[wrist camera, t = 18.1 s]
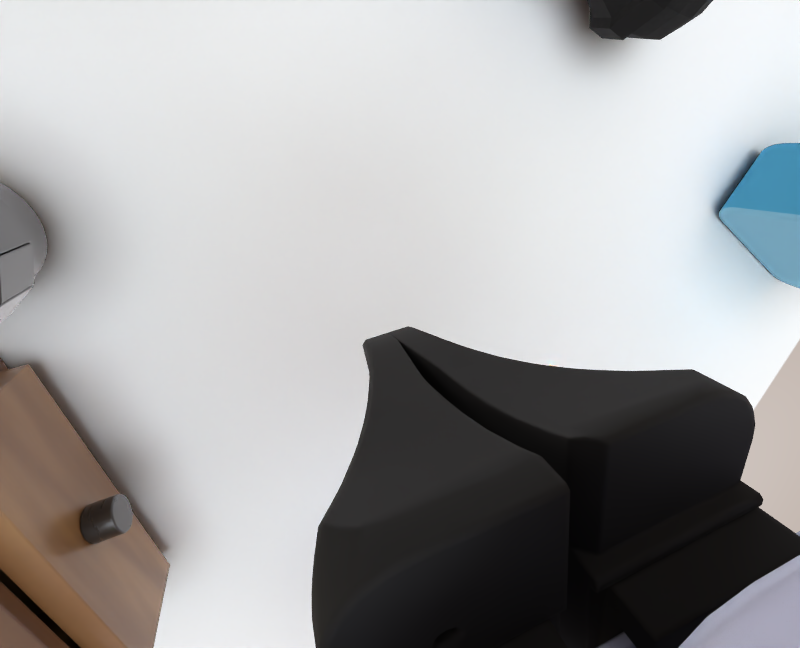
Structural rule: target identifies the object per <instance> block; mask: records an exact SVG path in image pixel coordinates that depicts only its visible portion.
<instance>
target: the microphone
mask: <svg viewBox="0 0 800 648" xmlns="http://www.w3.org/2000/svg"><path fill="white" fill-rule="evenodd" d="M587 1H588V4H589V7H590V29H591V30H593V31H594V32H595V33H596V34H597V35H599V36H600V37H601V38H606V39H620V40H624V39H625V38H626V37H629V38H641V39H657V40H660V39H662V38H664V37H665V36H667V35H668V34H670V33H672V32H673V31H675V30H677V29H678V28H680V27H682V26H683V25H685V24H686V23H688V22H689V21H691V20H692V19H694V18H695V17H697V16H698V15H700V14H701V13H702V12H703V11H704V10H705V9H706V8H707V7H708V5H709V4H710V3H711V2H712V1H713V0H587Z"/></svg>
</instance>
